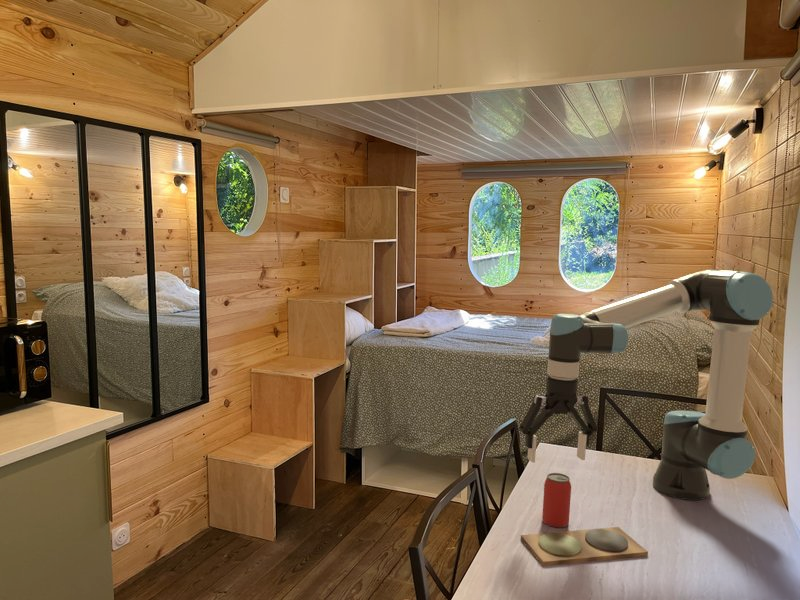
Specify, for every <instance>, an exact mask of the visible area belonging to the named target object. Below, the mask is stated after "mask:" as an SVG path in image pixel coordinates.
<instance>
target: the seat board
mask: <svg viewBox="0 0 800 600" xmlns="http://www.w3.org/2000/svg"><path fill="white" fill-rule="evenodd" d="M520 540H521V542H523V544H524V545H525V546H526V547H527V548H528V550H529V551H530V552H531V553H532V554H533V556H534V557H535V558H536V560H538V562H539V563H540V564H541V566H543V567H545V566H546V567H547V566H558V565H568V564H569V565H570V564H579V563H588V562H598V561H610V560H619V559H631V558H640V557H648V555H649V551H648V550H647V549H645V548H644V547H643V546H642V545H640V543H638V542H637V541H636V540H635V539H633V538H632V537H631V536H630V535H629V534H627V533H626V531H624V530H623V529H621V528H620V527H619V526H613V527H612V526H611V527H603V528H591V529H589V528H587V529H581V530H580V529H577V530H576V529H575V530H566V531H556V532H555V531H552V532H543V533H531V534H521V535H520Z"/></svg>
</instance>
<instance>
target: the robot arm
mask: <svg viewBox="0 0 800 600" xmlns="http://www.w3.org/2000/svg"><path fill="white" fill-rule="evenodd" d="M773 303H774V295H773V290H772V288H771V285H770V284H769V282H768V281H767V280H766V279H765V278H764V277H763V276H761V275H759V274H758V273H753V272H749V271H743V270H740V271H738V270H727V269H718V268H717V269H716V268H711V269H710V268H709V269H704V270H700V271H697V272H692V273H689V274H688V275H684V276H680V277H677V278H675V279H672V280H669V281H668V282H667V283H666V286H665V285H664V286H662V287H659V288H656V289H653V290H650V291H647V292H644V293H641V294H637V295H635V296H632V297H629V298H626V299H623V300H620V301H617V302H613V303H611V304H607V305H603V306H601V307H599V308H595V309H593V310H589V311H585V312H583V313H580V314H576V313H557V314H554V315H553V316H552V318H551V321H550V328H549V345H548V359H547V360H548V361H547V370H546V371H547V377H546V381H545V390H546V391H545V392H546V393H545V396H543V395H542V396H540V395H538V394H534V395H533V398H532V403H531V405H530V407H529V409H528V410H527V412H526V414H525V416H524V418H523V420H522V422H521V423H520V425H519V427H518V430H519V432H520V433H522V434H524V435H525V443H524V444H525V447H526V448H527V459H528V460H529V461H530V462H531V463H536V452H537V439H538V437H537V436H536V435H535V434H536V433H537V432H538V431H539V430H540V428H541V427H542V426H543V425H544V424H545V423H546V421H547V420H548V419H549V418H550V417H552V416H553V415H554V414H555V415H560V414H561V415H562V414H563V415H568V414H569V415H570V416H571V418H572V419H573V420H574V421H575V424H577V426H578V427H579V428H580V430H581V431H578V438H577V448H576V449H577V451H576V457H577V458H579V459H580V460H581V461H586V450H587V449H586V448H587V447H589V444H590V436H592V435H593V433H595V432H597V431H598V427H597V424H596V422H595V418H594V417H593V414H592V410H591V408H590V406H589V397H588V396H587V395H585V394H583V393H580V394H579V395H577V393H578V387H579V380H578V377H579V373H580V372H579V371H580V360H581V354H609V355H612V354H621V353H623V352H624V351H625V350H626V349H627V347H628V344H629V342H628V341H629V334H628V330H627V329H629V328H631V327H634V326H638V325H640V324H643V323H647V322H649V321H652V320H655V319H659V318H660V317H661V318H662V317H665V316H667V315H670V314H674V313H679V314H684V313H687V312H692V311H693V312H694V311H706V312H708V313H709V316H708V322H709V323H710V324H711V325H712V326H713V328H714V330H713V338H712V346H711V347H712V348H711V358H710V366H709V367H710V368H709V377H708V385H707V396H706V406H705V412H701V411H695V410H694V411H693V410H671V411H668V412H667V413H665V415H664V420H663V423H662V424H663V427H662V428H663V431H662V432H663V433H662V443H661V444H662V445H661V456H660V458H661V459H660V462H659V463H658V466H657V468H656V471H655V473H654V475H653V476H652V487H653V488H655V490H657V491H658V492H660V493H662V494H664V495H667V496H670V497H674V498H678V499H681V500H690V501H692V500H693V501H697V500H698V501H699V500H705V499H707V498H709V497H710V492H711V484H710V483H709V478H708V474H707V472H708V471H709V473H711V474H713V475H715V476H719V477H720V478H723V479H728V480H732V479H733V480H734V479H737V478H739V477H742V476H744V474H745V473H747V472H748V471H749V470H750V469H751V467H753V465H754V461H755V459H756V448H755V446H753V443H752V442H751V441H750V440H749V439H747V435H748V426H747V425H746V424H745V423H744V422H743V421H742V419H743V410H744V402H745V393H746V385H747V384H746V383H747V375H748V374H747V373H748V367H749V366H748V365H749V357H750V356H749V355H750V348H751V341H752V340H751V338H752V332H753V330H755V329H756V328H758V327H759V326H760V321H761V319H763V318H764V317H765V316H766V315H768V312H770V311H771V309H772V307H773ZM544 403H545V405H544ZM576 404H579V406H580V409H581V412H582V414H583V417H584V419H583V418H582V417H581V416H580V414H579V411H577V409H576V408H575V405H576ZM543 405H544V406H543ZM542 406H543V407H542ZM541 407H542V409H541ZM540 410H541V412H540ZM584 420H585V421H584ZM706 470H707V471H706Z"/></svg>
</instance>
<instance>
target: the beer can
mask: <svg viewBox="0 0 800 600" xmlns="http://www.w3.org/2000/svg"><path fill="white" fill-rule="evenodd" d="M570 480H571V479H570V476H569V475H567V474H563V473H560V472H559V473H558V472H551V473H549V474H547V475H546V479H545V481H544V483H543V484H544V487H543V500H542V518H541V519H542V521H543V523H544V524H546V525H548V526H549V527H551V528H564V527H566V526H568V525H569V523H570V512H571V511H570V510H571V509H570V508H571V497H572V496H571V495H572V483H571V481H570Z"/></svg>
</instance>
